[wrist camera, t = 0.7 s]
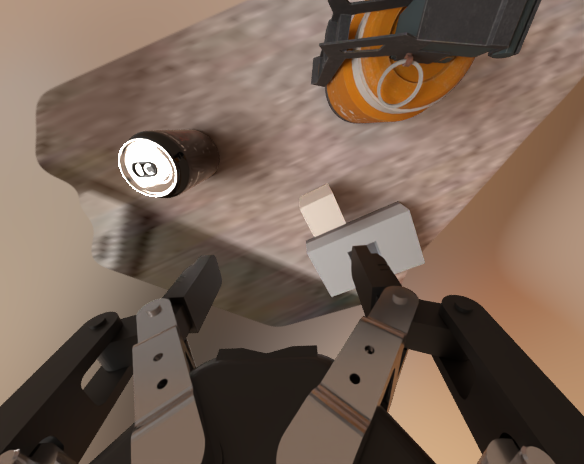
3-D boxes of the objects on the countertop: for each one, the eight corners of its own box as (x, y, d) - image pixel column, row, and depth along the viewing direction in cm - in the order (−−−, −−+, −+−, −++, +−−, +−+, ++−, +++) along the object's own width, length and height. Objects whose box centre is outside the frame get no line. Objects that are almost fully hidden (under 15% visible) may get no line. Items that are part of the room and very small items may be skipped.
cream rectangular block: (325, 179, 33) (332, 193, 26) (336, 204, 35) (346, 223, 28) (299, 192, 34) (299, 208, 27) (311, 216, 36) (314, 237, 29)
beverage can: (168, 130, 31) (99, 133, 20) (216, 127, 30) (171, 128, 20) (182, 179, 34) (128, 204, 23) (225, 176, 33) (191, 201, 23)
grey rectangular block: (397, 201, 34) (409, 210, 31) (413, 250, 38) (425, 263, 35) (306, 240, 38) (306, 252, 34) (328, 282, 42) (331, 296, 38)
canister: (385, 125, 30) (518, 125, 12) (304, 119, 30) (315, 109, 12) (405, 42, 26) (650, -151, 8) (312, 34, 26) (345, -179, 8)
